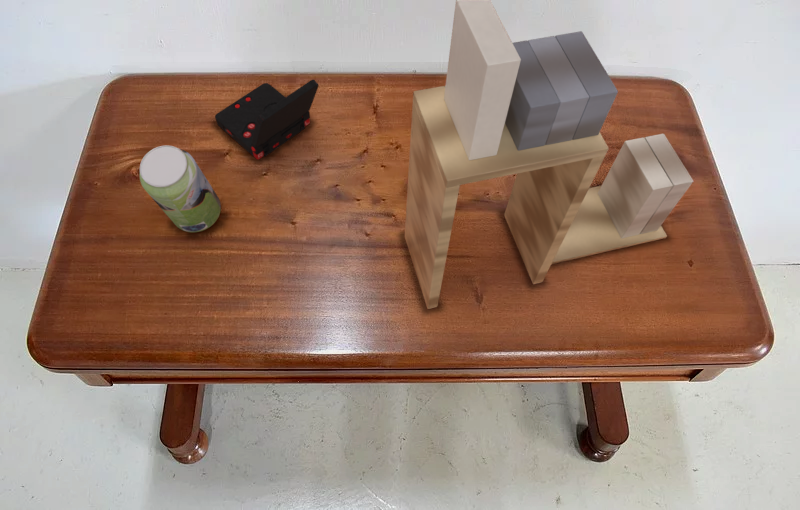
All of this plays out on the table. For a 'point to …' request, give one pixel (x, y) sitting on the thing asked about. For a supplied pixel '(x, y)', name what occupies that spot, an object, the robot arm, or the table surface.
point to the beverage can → (179, 188)
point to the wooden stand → (513, 157)
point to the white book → (480, 76)
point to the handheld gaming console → (267, 117)
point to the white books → (628, 200)
